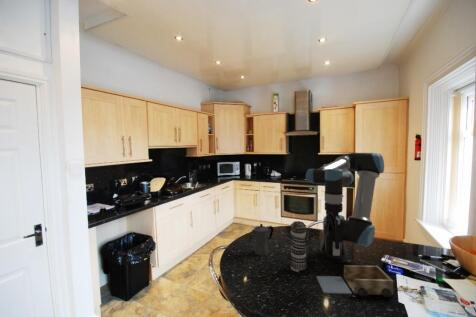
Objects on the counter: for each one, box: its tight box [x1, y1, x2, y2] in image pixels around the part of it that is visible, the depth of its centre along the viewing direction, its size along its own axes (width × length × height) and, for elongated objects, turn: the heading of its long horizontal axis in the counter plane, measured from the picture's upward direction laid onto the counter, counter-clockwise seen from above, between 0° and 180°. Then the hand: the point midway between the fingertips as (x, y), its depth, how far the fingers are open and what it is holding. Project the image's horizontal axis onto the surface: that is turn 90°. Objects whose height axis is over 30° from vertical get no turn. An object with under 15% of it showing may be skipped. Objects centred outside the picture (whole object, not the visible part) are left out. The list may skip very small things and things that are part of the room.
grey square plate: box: [315, 275, 353, 295], centre depth 104 cm, size 1×12×12 cm
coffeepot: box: [251, 223, 275, 256], centre depth 138 cm, size 15×9×18 cm, turn 113°
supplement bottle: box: [326, 227, 341, 257], centre depth 102 cm, size 7×7×12 cm
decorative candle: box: [289, 220, 308, 273], centre depth 119 cm, size 9×9×25 cm
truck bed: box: [343, 264, 394, 298], centre depth 102 cm, size 16×15×7 cm
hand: (333, 251), depth 102 cm, fingers closed on supplement bottle, 7 cm apart
